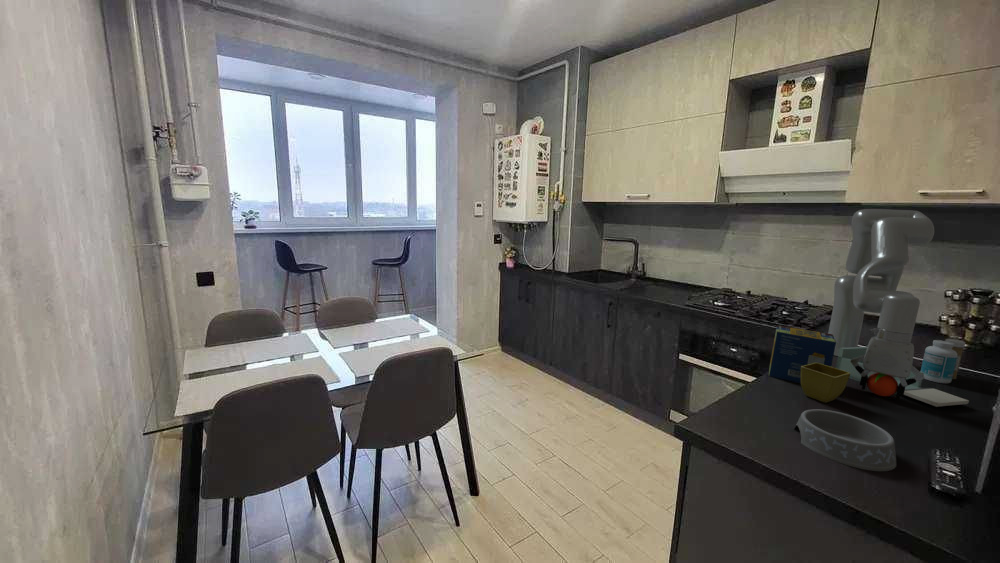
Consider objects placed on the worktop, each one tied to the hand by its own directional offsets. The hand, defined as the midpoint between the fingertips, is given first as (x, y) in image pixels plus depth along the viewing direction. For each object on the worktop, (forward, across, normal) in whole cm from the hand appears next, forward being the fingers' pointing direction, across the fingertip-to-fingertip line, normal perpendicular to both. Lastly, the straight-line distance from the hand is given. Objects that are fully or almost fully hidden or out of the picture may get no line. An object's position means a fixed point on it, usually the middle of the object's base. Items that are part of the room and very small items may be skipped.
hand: (880, 392), depth 121 cm
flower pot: (+1, -12, -18) cm, 22 cm away
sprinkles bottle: (+2, +15, +44) cm, 46 cm away
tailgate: (0, +7, +10) cm, 12 cm away
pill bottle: (+2, +12, +36) cm, 38 cm away
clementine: (+1, 0, 0) cm, 1 cm away
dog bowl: (+1, -4, -47) cm, 47 cm away
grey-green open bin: (+1, -1, +15) cm, 15 cm away
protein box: (+1, -20, -4) cm, 20 cm away
